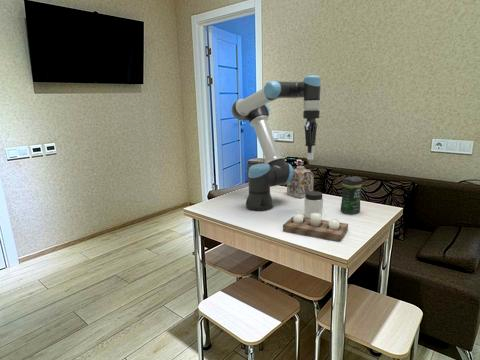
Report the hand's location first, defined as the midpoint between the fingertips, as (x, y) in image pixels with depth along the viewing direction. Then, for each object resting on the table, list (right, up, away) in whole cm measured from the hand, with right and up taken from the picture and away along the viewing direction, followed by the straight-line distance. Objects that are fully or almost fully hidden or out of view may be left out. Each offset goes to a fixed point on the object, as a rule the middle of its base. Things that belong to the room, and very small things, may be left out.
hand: (310, 159), depth 156 cm
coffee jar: (+23, -27, +9) cm, 36 cm away
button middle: (-1, -30, -16) cm, 34 cm away
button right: (+6, -32, -19) cm, 38 cm away
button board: (-1, -33, -15) cm, 36 cm away
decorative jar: (+3, -20, +41) cm, 46 cm away
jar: (+2, -29, +3) cm, 29 cm away
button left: (-8, -31, -11) cm, 34 cm away
